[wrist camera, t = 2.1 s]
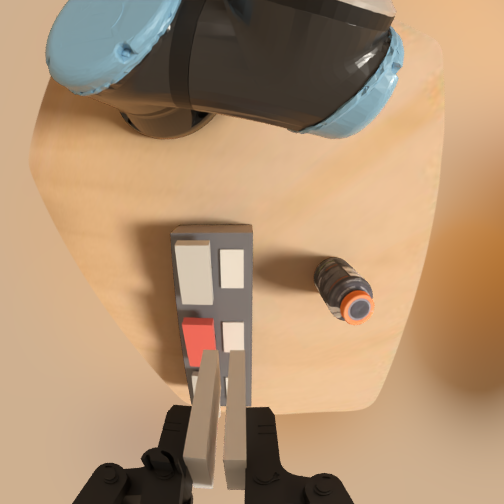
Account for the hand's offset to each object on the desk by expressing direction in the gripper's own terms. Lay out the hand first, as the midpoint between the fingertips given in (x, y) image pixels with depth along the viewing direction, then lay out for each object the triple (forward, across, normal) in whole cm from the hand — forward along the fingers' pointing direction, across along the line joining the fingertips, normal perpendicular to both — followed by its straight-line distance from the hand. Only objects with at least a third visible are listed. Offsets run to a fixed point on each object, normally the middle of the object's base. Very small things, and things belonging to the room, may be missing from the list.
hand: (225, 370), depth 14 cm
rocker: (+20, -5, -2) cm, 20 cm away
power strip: (+26, -3, -12) cm, 29 cm away
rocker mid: (+20, -5, -12) cm, 23 cm away
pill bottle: (+27, +14, -5) cm, 30 cm away
